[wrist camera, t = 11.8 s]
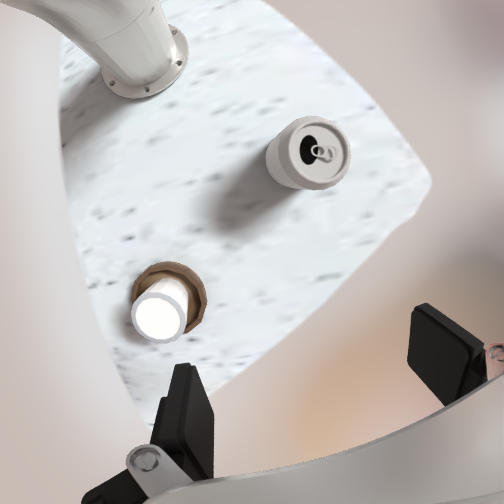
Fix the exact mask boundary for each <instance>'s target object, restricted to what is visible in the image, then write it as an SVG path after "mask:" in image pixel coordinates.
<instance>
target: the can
mask: <svg viewBox="0 0 504 504" xmlns="http://www.w3.org/2000/svg"><path fill="white" fill-rule="evenodd" d="M265 159H266V167H267V169H268V171H269V174H270V175H271V176H272V177H273V179H274V180H275V181H276V182H278V183H279V184H281V185H283V186H286V187H290V188H296V189H307V190H324V189H327V188H329V187H332V186H334V185H336V184H337V183H338V182H339V181H340V180H341V179H343V177H344V175H345V174H346V172H347V170H348V168H349V163H350V159H351V151H350V145H349V142H348V140H347V137H346V136H345V134H344V133H343V132H342V130H341V129H340V128H339V127H338V126H337V125H335V124H334V123H332V122H331V121H330V120H327V119H325V118H322V117H319V116H306V117H302V118H299V119H296V120H295V121H293V122H292V123H291V124H290V125H288V126H287V127H286V128H285V129H284V130H283V131H282V132H280V133H279V134H278V135H277V136H276V137H275V138H274V139H273V140H272V141H271V143H270V145H269V146H268V148H267V151H266V156H265Z"/></svg>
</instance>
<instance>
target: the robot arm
mask: <svg viewBox="0 0 504 504" xmlns="http://www.w3.org/2000/svg"><path fill="white" fill-rule="evenodd" d="M0 2H1V3H3V4H6V5H8V6H11V7H14V8H17V9H20V10H23V11H26V12H28V13H31V14H33V15H35V16H37V17H39V18H41V19H43V20H44V21H46V22H48V23H49V24H51V25H52V26H53V27H55V28H56V29H57V30H59V31H60V32H61V33H62V34H64V35H65V36H66V37H67V38H68V39H70V40H71V41H72V42H73V43H74V44H75V45H77V46H78V47H79V48H80V49H81V50H83V51H84V52H85V53H86V54H87V55H89V56H90V57H91V58H92V59H93V60H94V61H96V62H97V63H98V64H99V65H100V66H101V67H102V76H103V79H104V82H105V84H106V85H107V86H108V88H109V89H110V90H112V91H113V92H114V93H116V94H118V95H119V96H122V97H125V98H133V99H137V98H144V97H148V96H152V95H154V94H157V93H159V92H161V91H162V90H164V89H166V88H167V87H168V86H170V85H171V84H172V83H173V82H174V81H175V80H176V79H177V78H178V77H179V76H180V74H181V73H182V71H183V70H184V68H185V66H186V63H187V60H188V55H189V50H188V44H187V41H186V38H185V36H184V35H183V33H182V32H181V31H180V30H179V29H177V28H176V27H174V26H172V25H170V24H168V23H167V20H166V17H165V15H164V12H163V10H162V7H161V4H160V2H159V0H0ZM179 64H181V65H180V66H178V65H179ZM113 85H114V86H113ZM147 90H149V92H147ZM483 346H484V343H483V342H482V341H480V340H479V339H477V338H476V337H475V336H473V335H472V334H471V333H469V332H468V331H467V330H465V329H464V328H462V327H461V326H460V325H458V324H457V323H455V322H454V321H453V320H451V319H450V318H448V317H447V316H445V315H444V314H443V313H441V312H440V311H438V310H437V309H435V308H434V307H432V306H431V305H429V304H428V303H424V304H421V305H419V306H416V307H415V308H414V311H413V312H412V313H411V326H410V338H409V348H408V356H407V362H408V365H409V366H410V367H411V369H412V370H413V371H414V372H415V373H416V374H417V375H418V376H419V378H420V379H421V380H422V381H423V382H424V383H425V384H426V385H427V387H428V388H429V389H430V390H431V391H432V392H433V393H434V395H435V396H436V397H437V398H438V399H439V400H440V401H441V402H442V404H443V405H444V406H445V407H444V408H442V409H440V410H439V411H437V412H435V413H433V414H431V415H429V416H427V417H425V418H423V419H421V420H419V421H417V422H415V423H413V424H411V425H409V426H406V427H404V428H402V429H400V430H398V431H395V432H393V433H391V434H388V435H386V436H384V437H381V438H378V439H376V440H373V441H371V442H368V443H365V444H363V445H360V446H357V447H354V448H351V449H348V450H345V451H342V452H339V453H336V454H332V455H329V456H326V457H323V458H319V459H315V460H311V461H308V462H303V463H300V464H295V465H290V466H286V467H281V468H276V469H271V470H266V471H261V472H254V473H249V474H242V475H235V476H228V477H221V478H214V475H213V474H214V471H213V469H214V465H213V464H214V463H213V462H214V413H213V410H212V407H211V405H210V402H209V400H208V397H207V395H206V392H205V390H204V387H203V385H202V382H201V379H200V377H199V374H198V371H197V369H196V366H195V365H194V366H191V364H190V363H182V364H176V365H175V367H174V371H173V375H172V379H171V383H170V387H169V392H168V396H167V397H162V398H161V400H160V403H159V407H158V411H157V415H156V419H155V423H154V427H153V431H152V436H151V440H150V444H146V445H140V446H138V447H136V448H134V449H133V450H131V451H130V453H129V454H128V455H127V458H126V466H127V469H126V470H124V471H122V472H121V473H119V474H118V475H116V476H114V477H112V478H111V479H109V480H108V481H106V482H104V483H102V484H101V485H99V486H97V487H95V488H93V489H92V490H90V491H89V492H87V493H86V494H85V495H84V497H83V498H82V501H81V504H504V343H493V344H491V345H489V346H488V347H487V348H486V350H485V349H483Z"/></svg>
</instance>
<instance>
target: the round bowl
mask: <svg viewBox="0 0 504 504" xmlns="http://www.w3.org/2000/svg"><path fill="white" fill-rule="evenodd" d="M162 278H171V279H174V280H177V281H179V282H180V283H181V284H182V285H183V286H184V287H185V289H186V291H187V293H188V310H187V321H186V327H185V329H184V332H183V334H186V333H188V332H190V331H191V330H192V329H193V328H194V327H196V326H197V325H198V324H199V323H201V321H202V318H203V314H204V311H205V308H206V305H207V298H206V292H205V288H204V285H203V283H202V281H201V280H200V278H199V277H198V276H197V274H196V273H195V272H194V271H192V270H191V269H190V268H188V267H186V266H185V265H182V264H180V263H176V262H160V263H157V264H154V265H151V266H150V267H149V268H148V269H146V270H145V271H144V272H143V273H142V274H141V275H140V276H139V277H138V279H137V280H136V281H135V283H134V288H133V293H132V298H131V300H132V303H134V302H135V301H136V300H137V299H138V298H139V296H141V295H142V294H143V293H144V292H145V291H146V290H147V289H148V288H149V287H150V286H151V285H153V284H154V283H155V282H156V281H158V280H160V279H162Z"/></svg>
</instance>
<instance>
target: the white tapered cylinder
mask: <svg viewBox="0 0 504 504" xmlns="http://www.w3.org/2000/svg"><path fill="white" fill-rule="evenodd" d="M187 310H188V293H187V291H186V289H185V287H184V286H183V285H182V284H181V283H180V282H179V281H177V280H174V279H171V278H162V279H160V280H158V281H156V282H155V283H154V284H153V285H151V286H150V287H149V288H148V289H147V290H146V291H145V292H144V293H143V294H142V295H141V296H139V298H138V299H137V300H136V301H135V302H134V303H133V306H132V310H131V317H132V323H133V325H134V326H135V328H136V330H137V331H138V333H140V334H141V335H142V336H143V337H144V338H146V339H147V340H150V341H152V342H155V343H170V342H172V341H175V340H177V339H178V338H179V337H180V336H181V335H182V334H183V332H184V329H185V327H186V321H187Z"/></svg>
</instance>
